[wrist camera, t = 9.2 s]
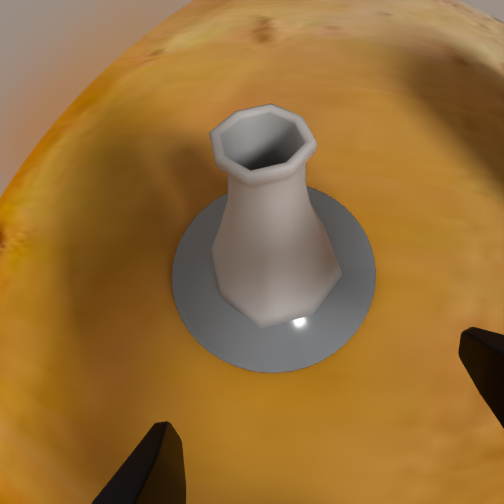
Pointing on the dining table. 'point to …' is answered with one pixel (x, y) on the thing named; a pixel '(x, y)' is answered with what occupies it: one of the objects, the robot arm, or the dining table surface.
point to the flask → (270, 219)
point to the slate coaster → (285, 334)
